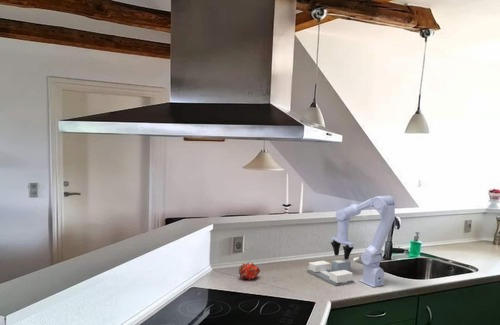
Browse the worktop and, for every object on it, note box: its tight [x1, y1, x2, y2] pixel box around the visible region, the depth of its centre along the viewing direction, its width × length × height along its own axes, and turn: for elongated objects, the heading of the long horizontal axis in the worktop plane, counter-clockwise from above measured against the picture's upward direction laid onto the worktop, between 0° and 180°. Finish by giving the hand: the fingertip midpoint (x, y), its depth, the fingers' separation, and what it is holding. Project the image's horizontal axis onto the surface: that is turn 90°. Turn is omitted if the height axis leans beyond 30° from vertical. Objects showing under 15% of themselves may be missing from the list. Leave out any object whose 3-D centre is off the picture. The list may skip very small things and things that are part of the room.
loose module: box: [331, 258, 352, 272], centre depth 197 cm, size 4×9×6 cm, turn 118°
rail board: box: [306, 260, 355, 287], centre depth 188 cm, size 22×12×5 cm, turn 28°
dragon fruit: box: [238, 262, 261, 281], centre depth 182 cm, size 8×8×12 cm
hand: (341, 257), depth 197 cm, fingers open, 7 cm apart
